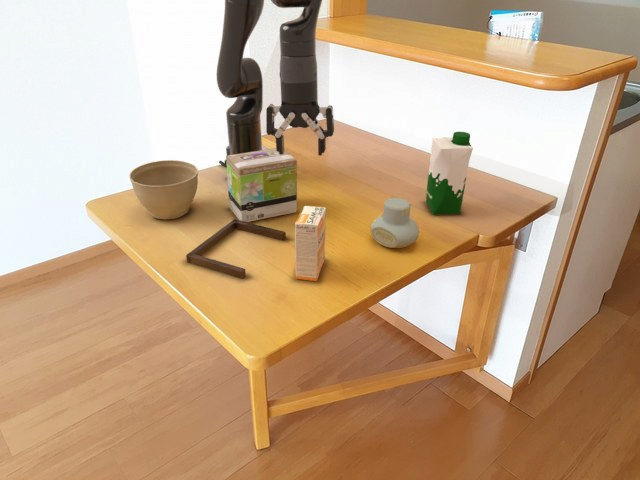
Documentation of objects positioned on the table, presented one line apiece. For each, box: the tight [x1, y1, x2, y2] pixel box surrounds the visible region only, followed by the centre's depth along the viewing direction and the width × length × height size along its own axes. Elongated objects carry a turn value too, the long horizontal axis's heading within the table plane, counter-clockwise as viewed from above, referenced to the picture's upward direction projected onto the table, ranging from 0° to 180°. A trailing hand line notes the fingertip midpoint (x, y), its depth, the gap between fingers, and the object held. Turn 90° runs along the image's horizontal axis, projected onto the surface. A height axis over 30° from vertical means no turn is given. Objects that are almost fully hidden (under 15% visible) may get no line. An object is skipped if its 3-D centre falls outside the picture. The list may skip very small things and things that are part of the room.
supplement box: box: [294, 205, 327, 282], centre depth 105 cm, size 8×5×13 cm, turn 168°
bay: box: [185, 218, 287, 280], centre depth 114 cm, size 14×18×2 cm
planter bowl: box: [129, 159, 199, 220], centre depth 128 cm, size 16×16×11 cm
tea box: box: [225, 147, 298, 223], centre depth 128 cm, size 15×10×15 cm, turn 117°
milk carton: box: [425, 131, 474, 216], centre depth 128 cm, size 9×9×20 cm
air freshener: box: [370, 197, 420, 249], centre depth 116 cm, size 11×8×10 cm
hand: (301, 153), depth 111 cm, fingers open, 8 cm apart
